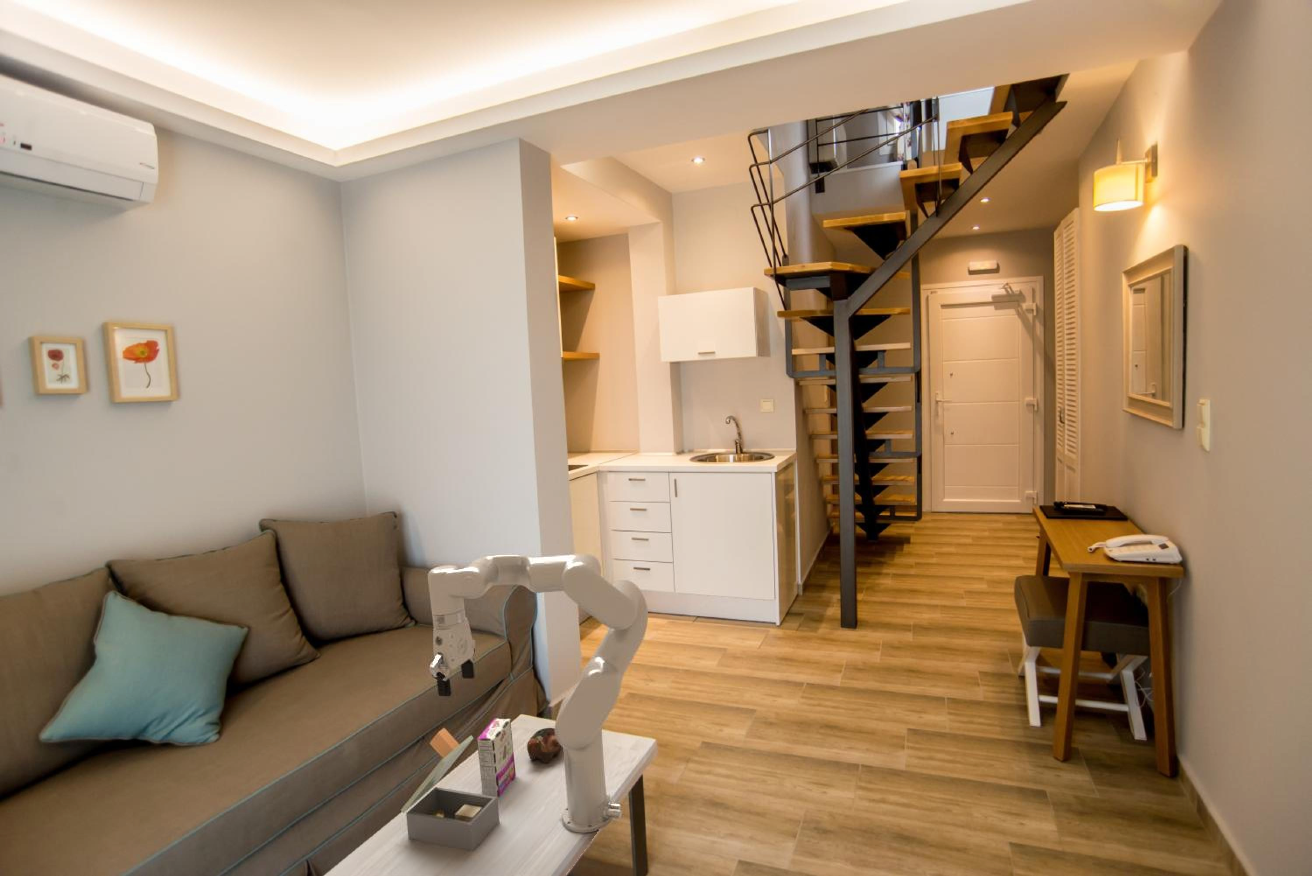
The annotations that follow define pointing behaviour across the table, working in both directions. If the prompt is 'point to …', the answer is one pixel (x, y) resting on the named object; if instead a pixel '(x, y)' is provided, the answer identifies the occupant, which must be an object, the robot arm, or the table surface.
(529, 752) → the decorative turtle
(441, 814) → the brass cylinder
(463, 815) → the birch block
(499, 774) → the candy bar box
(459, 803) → the parts tub
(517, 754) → the table surface
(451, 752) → the lid
